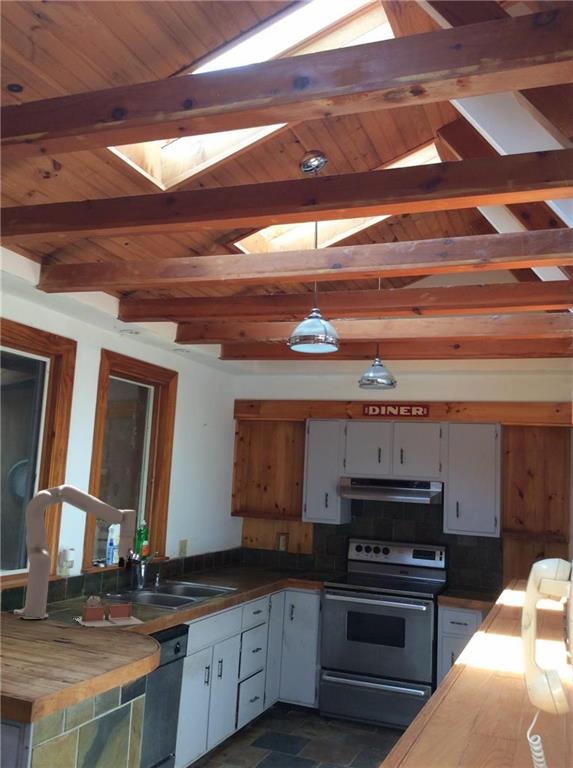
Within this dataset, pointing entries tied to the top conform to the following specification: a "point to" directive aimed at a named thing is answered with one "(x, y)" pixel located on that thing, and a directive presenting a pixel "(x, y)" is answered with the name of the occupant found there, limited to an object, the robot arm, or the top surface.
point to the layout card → (110, 622)
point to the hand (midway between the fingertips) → (124, 568)
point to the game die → (94, 601)
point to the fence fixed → (95, 613)
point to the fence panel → (121, 611)
